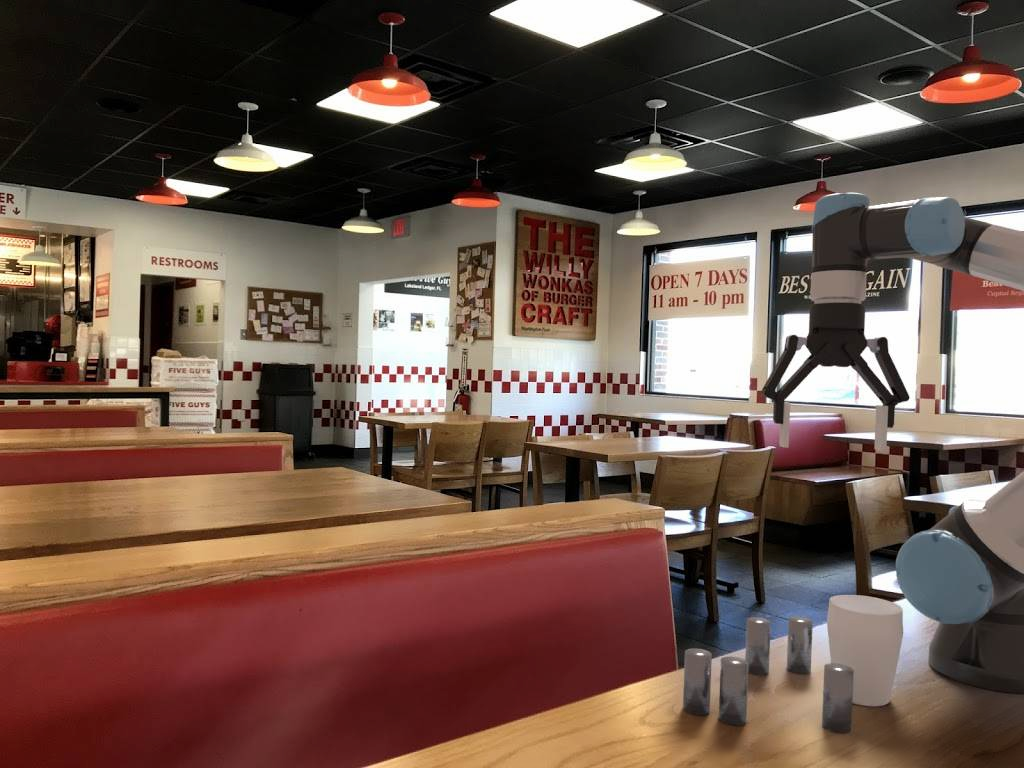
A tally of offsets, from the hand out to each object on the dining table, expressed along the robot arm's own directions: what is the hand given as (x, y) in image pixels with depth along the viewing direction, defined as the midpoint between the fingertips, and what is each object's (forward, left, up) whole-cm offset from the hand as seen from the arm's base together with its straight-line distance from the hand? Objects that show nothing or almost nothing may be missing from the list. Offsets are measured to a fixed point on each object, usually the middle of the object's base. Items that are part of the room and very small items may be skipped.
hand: (831, 448), depth 117 cm
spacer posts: (+13, +15, -31) cm, 37 cm away
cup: (-1, +14, -31) cm, 34 cm away
